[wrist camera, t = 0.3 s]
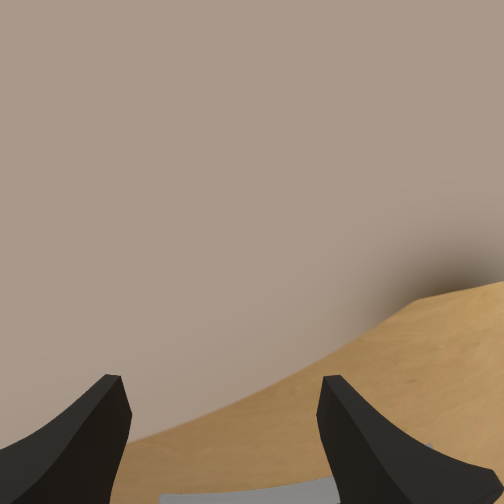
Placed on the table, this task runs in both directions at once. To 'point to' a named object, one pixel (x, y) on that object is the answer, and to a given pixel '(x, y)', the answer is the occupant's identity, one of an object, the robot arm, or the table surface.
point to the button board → (267, 495)
